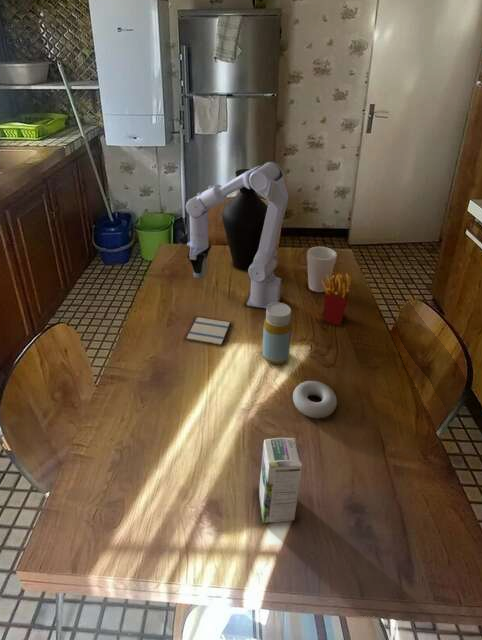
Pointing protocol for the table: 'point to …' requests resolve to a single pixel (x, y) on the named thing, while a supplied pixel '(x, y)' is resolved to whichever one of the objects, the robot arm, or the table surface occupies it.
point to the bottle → (276, 333)
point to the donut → (314, 408)
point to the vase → (244, 225)
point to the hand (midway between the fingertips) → (199, 269)
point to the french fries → (335, 298)
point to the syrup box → (279, 479)
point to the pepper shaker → (203, 271)
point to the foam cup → (319, 267)
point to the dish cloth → (208, 330)
